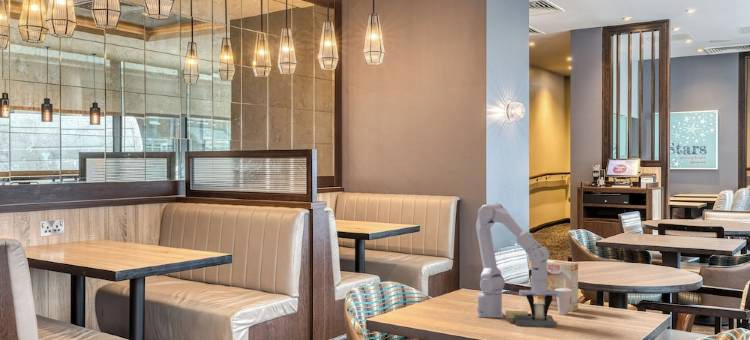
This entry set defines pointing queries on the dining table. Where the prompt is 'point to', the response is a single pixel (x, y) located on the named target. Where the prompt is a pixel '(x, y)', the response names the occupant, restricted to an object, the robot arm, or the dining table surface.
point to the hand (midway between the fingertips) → (539, 315)
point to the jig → (533, 321)
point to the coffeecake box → (562, 281)
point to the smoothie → (563, 299)
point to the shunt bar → (515, 314)
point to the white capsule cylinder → (539, 311)
